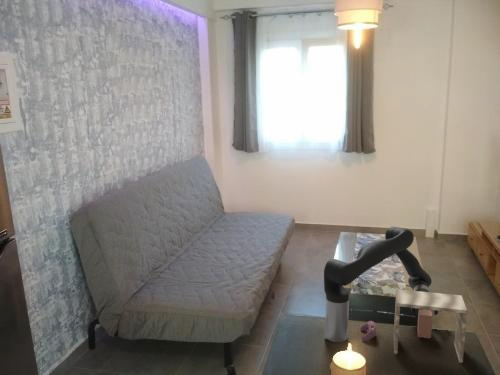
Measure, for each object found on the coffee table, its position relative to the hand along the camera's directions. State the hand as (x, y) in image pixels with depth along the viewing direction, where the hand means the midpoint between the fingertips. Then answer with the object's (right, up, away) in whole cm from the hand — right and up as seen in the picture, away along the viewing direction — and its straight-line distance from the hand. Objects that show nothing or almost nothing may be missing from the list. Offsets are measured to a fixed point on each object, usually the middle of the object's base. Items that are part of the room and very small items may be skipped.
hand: (424, 311), depth 191 cm
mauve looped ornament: (-25, -10, -2) cm, 27 cm away
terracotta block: (-1, -9, -2) cm, 9 cm away
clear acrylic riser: (-5, -11, -13) cm, 18 cm away
